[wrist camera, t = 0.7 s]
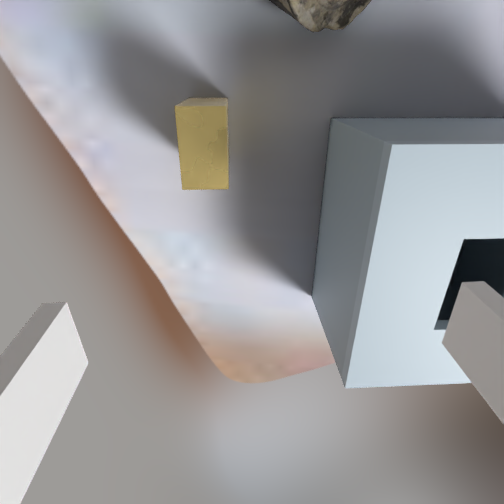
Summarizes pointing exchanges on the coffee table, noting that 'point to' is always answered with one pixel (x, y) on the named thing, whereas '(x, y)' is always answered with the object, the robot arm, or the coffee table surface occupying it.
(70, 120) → the coffee table surface
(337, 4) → the fossil
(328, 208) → the coin box
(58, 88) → the coffee table surface
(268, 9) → the coffee table surface
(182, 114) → the block
